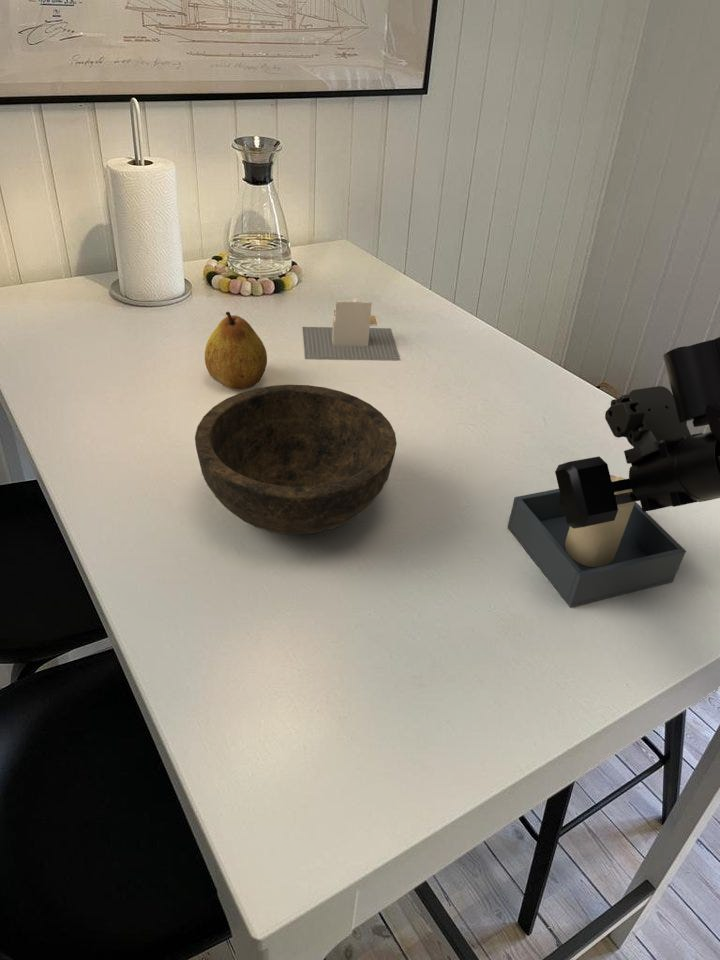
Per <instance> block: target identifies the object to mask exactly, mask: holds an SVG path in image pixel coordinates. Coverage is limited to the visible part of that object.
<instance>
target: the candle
mask: <svg viewBox="0 0 720 960" xmlns="http://www.w3.org/2000/svg"><path fill="white" fill-rule="evenodd" d="M610 477H611V481H612V482H613V481H618V480H624V479H625V477H623V476H616V475H612V474H610ZM627 492H632V489H629V490H624V491H619V492H614V494H615V495H617V494H622V493H627ZM634 503H635V502H631V503H626V504H621V505H617V507H618V512H617V515H616V518H615V520H614V521H610V522H605V523H601V524H596V525H591V526H586V527H581V528H575V529H573V528H572V527H570V528H569V531H568V534H567V538H566V541H565V549H566V552H567V553H568V555H569V556H570V557H571V558H572V559H573V560H575V561H576V562H578V563H580V564H582V565H585V566H589V567H603V566H607V565H609V564H610V563H611V562H612V561H613V559H614V557H615V555H616V552H617V550H618V547H619V544H620V542H621V539H622V536H623V533H624V531H625V528H626V525H627V523H628V520H629V517H630V514H631V512H632V509H633V506H634Z"/></svg>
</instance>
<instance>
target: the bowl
mask: <svg viewBox="0 0 720 960" xmlns="http://www.w3.org/2000/svg"><path fill="white" fill-rule="evenodd" d="M194 442H195V449H196V453H197V459H198V462H199V467H200V471H201V474H202V475H201V476H203V479H204V482H205V483H206V485H207V486H208V488H209V490H210V491H211V492H212V494H213V495H214V497H215V498H216V499H217V500H218V501H219V502H220V504H221V505H222V506H224V508H226V510H228V511H229V512H230V513H232V514H233V515H234V516H236V517H237V518H238V519H240V520H241V521H243V522H245V523H247V524H249V525H251V526H253V527H256V528H259V529H262V530H265V531H268V532H273V533H279V534H284V535H285V534H286V535H287V534H289V535H305V534H314V533H320V532H324V531H328V530H333V529H335V528H338V527H339V526H342V525H344V524H346V523H348V522H349V521H351V520H352V519H354V518H355V517H357V516H358V515H359V514H361V513H362V512H364V511H365V510H366V509H367V508H368V507H369V506H370V505H371V504H372V503H373V502H374V501H375V499H376V498H377V497H378V496H379V494H380V493H381V492H382V491H383V489H384V487H385V485H386V483H387V482H388V479H389V476H390V472H391V468H392V466H393V461H394V458H395V454H396V449H397V437H396V432H395V430H394V428H393V426H392V424H391V422H390V421H389V420H388V419H387V418H386V417H385V415H384V414H383V413H382V412H381V411H380V410H379V409H377V408H376V407H374V406H373V405H372V404H370V403H368V402H367V401H365V400H363V399H361V398H359V397H357V396H355V395H351V394H349V393H346V392H344V391H342V390H337V389H333V388H328V387H325V386H317V385H316V386H315V385H310V384H277V385H269V386H262V387H255V388H253V389H249V390H248V389H247V390H245V391H242V392H239V393H236V394H234V395H232V396H229V397H227V398H225V399H223V400H222V401H221V402H219V403H217V404H216V405H214V406H212V408H211V409H210V410H208V411H207V412H206V413H205V414H204V415H203V417H202V418H201V420H200V421H199V423H198V425H197V426H196V431H195V435H194Z"/></svg>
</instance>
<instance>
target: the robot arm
mask: <svg viewBox="0 0 720 960" xmlns="http://www.w3.org/2000/svg"><path fill="white" fill-rule="evenodd" d="M662 358H663V361H664V366H665V369H666V374H667V377H668V382H669V385H670V389H671V391H670V389H669V388H667V387H665V386H663V385H657V386H651V387H644V388H637V389H632V390H631V391H630V392H629V393H628V394H623V395H621V396H620V397H619V398H614V399H611V400H610V406H609V408H607V410H606V411H605V414H604V415H605V416H604V419H605V421H606V423H607V425H608V427H609V429H610V431H611V433H612V435H613V437H615V438H618V439H619V438H626V440H627V442H628V444H630V445H631V446H632V448H629V449H625V450H623V453H624V457H625V461H626V464H627V465H629V464H630V467H629V470H628V478H624V480H618V481H613V482H612V481H611V477H610V475H611V474H610V469H609V465H608V463H607V462H606V461H605V460H604V459H603V458H602V457H601V456H600V455H599V456H598V455H597V456H593V457H588V458H582V459H576V460H571V461H568V462H564V463H561V464H559V465H558V466H557V467H556V468H555V471H554V473H555V477H556V478H555V479H556V483H557V486H558V489H559V491H560V494H559V499H560V503H561V505H563V508H564V513H565V517H566V521H567V524H568V525H569V526H570V527H572V528H573V529H575V528H581V527H586V526H591V525H596V524H601V523H605V522H610V521H614V520H615V518H616V515H617V512H618V507H617V505H621V504H626V503H631V502H636V503H637V502H640V506H641V507H642V511H643V512H650V511H655V510H660V509H666V508H669V507H672V508H674V507H679V506H680V507H681V506H685V505H689V504H695V503H702V502H708V501H713V500H716V499H720V336H718V337H716V338H714V339H709V340H706V341H702V342H701V341H700V342H698V343H694V344H691V345H685V346H679V347H675V348H673V349H671V350H669V351H667V352H665V353H664V354H663V356H662ZM690 421H692V425H693V428H697V427H703V426H709V430H710V431H708V432H705V433H703V432H699V433H694V434H691V432H690V430H689V427H688V425H687V424H688V422H690ZM629 489H632V492H627V493H622V494H617V495H615V494H614V492H619V491H624V490H629Z"/></svg>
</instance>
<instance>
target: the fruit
mask: <svg viewBox="0 0 720 960" xmlns="http://www.w3.org/2000/svg"><path fill="white" fill-rule="evenodd" d="M205 344H206V346H205V350H204V364H205V367H206V370H207V372H208V373H209V375H210V377H211V378H212V379H214V381H216V382H218V383H220V384H222V385H223V386H224V387H226V388H227V389H231V390H238V391H239V390H245V389H250V388H253V387H255V386H256V385H257V384H259V382H260V381H262V378H263V376H264V375H265V372H266V369H267V364H268V354H267V349H266V348H265V347H266V346H265V344H264V342H263V341H262V339H261V338H260V336H259V335H258V334H257V333H256V331H255V330H254V328H253V327H252V326H251V324H250V323H249V322H248V321H247V320H246V319H244V318H243V317H241V316H238V315H235V314H234V315H231V312H230V311H226V312H225V317H224V318H223V319H222V320H220V321H219V323H218V324H217V326H216V327H215V329H214V330H213V331H212V332H211V334H210V336H209V338H208V340H207V341H206V343H205Z"/></svg>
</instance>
